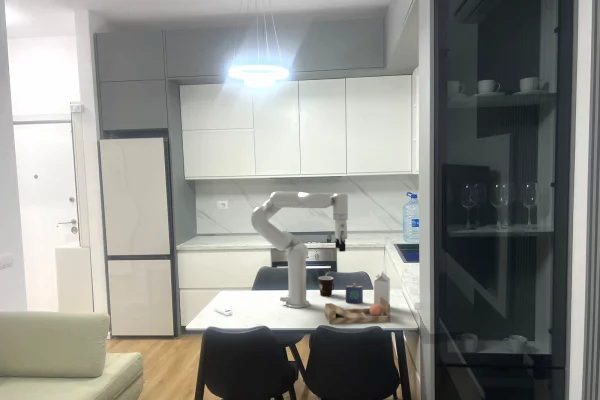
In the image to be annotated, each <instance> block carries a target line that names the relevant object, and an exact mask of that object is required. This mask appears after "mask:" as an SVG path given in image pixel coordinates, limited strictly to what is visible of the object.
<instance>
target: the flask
mask: <svg viewBox="0 0 600 400" xmlns="http://www.w3.org/2000/svg"><path fill="white" fill-rule="evenodd" d="M356 284H357V283H356V282H354V283H353V284H352V285H351V284H349V285H346V286H345V303H346V304H363V303H364V299H363V297H364V294H363V291H364V289H363V288H364V286H362V285H356Z"/></svg>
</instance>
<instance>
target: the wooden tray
mask: <svg viewBox="0 0 600 400" xmlns="http://www.w3.org/2000/svg"><path fill="white" fill-rule="evenodd" d="M380 307H381V308H382V313H381V315H380V316H372V315H371V314H370V311H369V310H370V308H369V307H367V308H364V307H362V308H342V307H341V306H338V305H336V304H334V303H330V302H327V303H325V305H324V309H325V310H324V316H325V318H326V320H327V322H328V323H329V325H335V324H339V325H340V324H357V323H358V324H361V323H364V324H365V323H382V322H383V323H384V322H391V304H389V303H388V302H387V301H386V300H385V299H384V298H383V297H380ZM336 316H341V317H336Z"/></svg>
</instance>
